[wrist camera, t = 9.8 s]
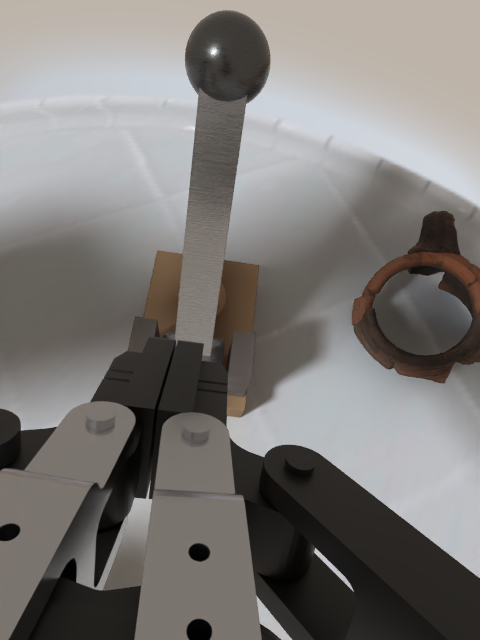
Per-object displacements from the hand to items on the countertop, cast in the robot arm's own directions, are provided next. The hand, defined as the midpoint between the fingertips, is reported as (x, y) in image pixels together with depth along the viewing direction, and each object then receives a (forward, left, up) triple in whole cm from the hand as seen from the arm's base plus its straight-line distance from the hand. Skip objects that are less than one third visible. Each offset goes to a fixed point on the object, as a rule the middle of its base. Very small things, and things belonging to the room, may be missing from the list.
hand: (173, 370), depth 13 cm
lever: (0, +4, -14) cm, 14 cm away
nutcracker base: (0, +8, -17) cm, 19 cm away
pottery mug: (+16, +12, -18) cm, 26 cm away
